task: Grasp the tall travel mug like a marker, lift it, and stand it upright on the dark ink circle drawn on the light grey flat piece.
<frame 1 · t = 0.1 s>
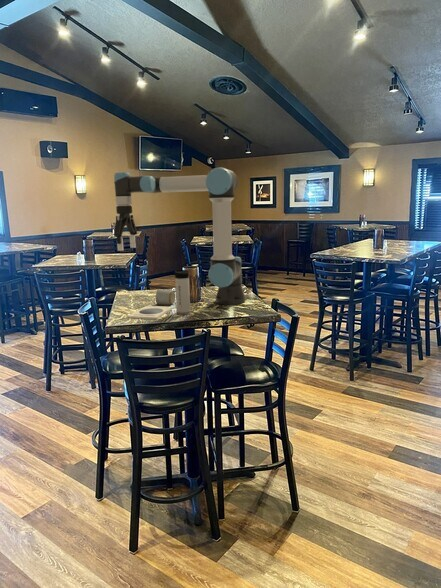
hand: (127, 249, 217), 28 cm above the table, fingers open, 13 cm apart
ceramic mug: (166, 304, 221), on the table
travel mug: (183, 313, 201), on the table
light grey flat piece: (151, 312, 203), on the table
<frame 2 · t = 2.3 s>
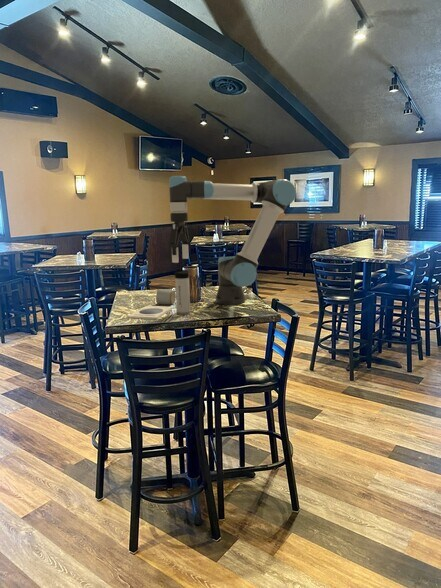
hand: (180, 260, 196), 24 cm above the table, fingers open, 13 cm apart
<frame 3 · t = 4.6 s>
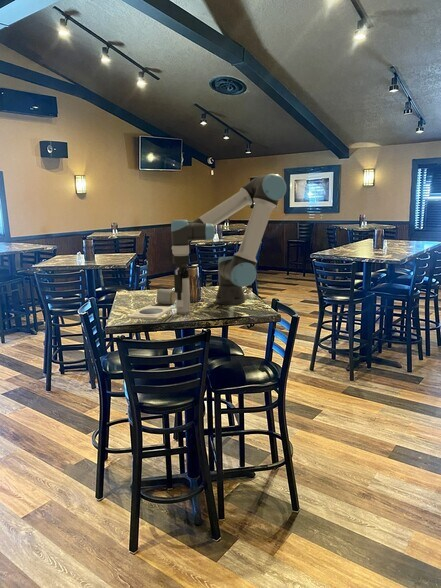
hand: (182, 304, 200), 4 cm above the table, fingers closed on travel mug, 6 cm apart
travel mug: (183, 313, 201), on the table, touching gripper
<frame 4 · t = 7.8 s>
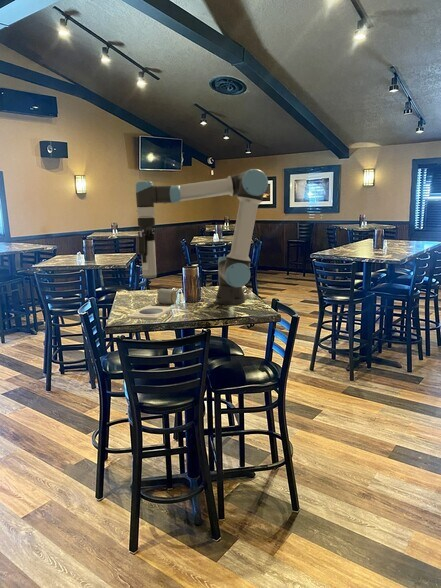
hand: (148, 268, 199), 21 cm above the table, fingers closed on travel mug, 6 cm apart
travel mug: (149, 277, 200), point 17 cm above the table, touching gripper
when the fingers open (6 cm above the table, at t = 10.8 s): travel mug drops 1 cm, resting on light grey flat piece.
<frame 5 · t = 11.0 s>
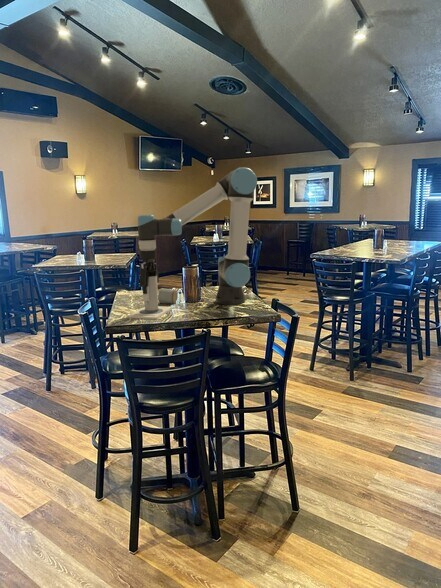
hand: (150, 298, 201), 7 cm above the table, fingers open, 9 cm apart
travel mug: (151, 311, 203), point 1 cm above the table, touching light grey flat piece
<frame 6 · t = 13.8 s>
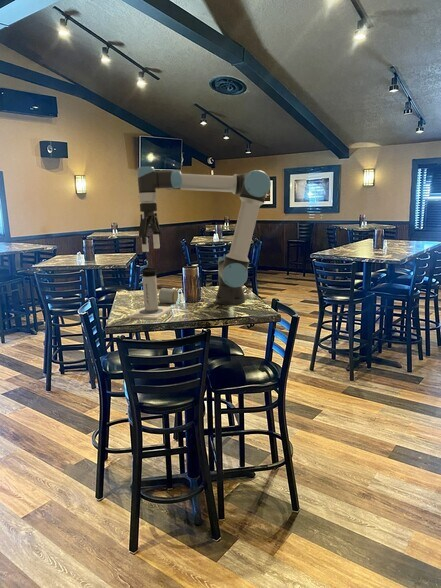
hand: (151, 250, 200), 29 cm above the table, fingers open, 13 cm apart
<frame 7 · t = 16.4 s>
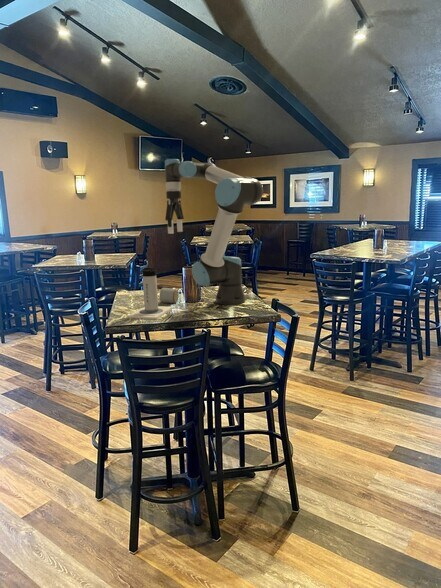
hand: (175, 232, 228), 35 cm above the table, fingers open, 13 cm apart
at the end: travel mug inside the target area on the light grey flat piece (0.1 cm from its centre), point 0.7 cm above the light grey flat piece's base; travel mug tilted 1°; the gripper is holding nothing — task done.
